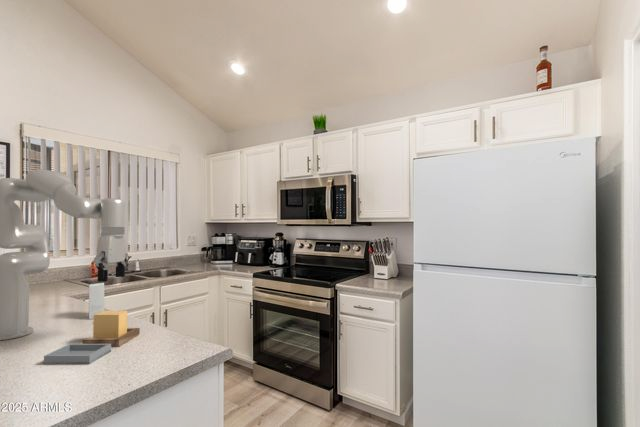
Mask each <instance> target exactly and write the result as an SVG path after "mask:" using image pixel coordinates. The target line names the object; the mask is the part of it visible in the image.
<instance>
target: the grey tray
mask: <svg viewBox="0 0 640 427" xmlns="http://www.w3.org/2000/svg"><path fill="white" fill-rule="evenodd" d="M111 351H112V347H111V344H83V343H69V344H66V345H64V346H62V347H60V348H58V349H56V350H54V351H52V352H51V351H50V352H49V353H47V354H45V355H43V365H90V364H92V363H93V362H95V361H98V360H99V359H100V358H103V357H104V356H106V355H107V354H109V353H111Z"/></svg>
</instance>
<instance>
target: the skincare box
mask: <svg viewBox="0 0 640 427" xmlns="http://www.w3.org/2000/svg"><path fill="white" fill-rule="evenodd" d="M102 311H105V282H99V283H90V284H89V285H88V319H89V320H94V315H95V314H97V313H100V312H102Z"/></svg>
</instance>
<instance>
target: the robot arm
mask: <svg viewBox="0 0 640 427" xmlns="http://www.w3.org/2000/svg"><path fill="white" fill-rule="evenodd" d="M76 193H77V187H76V186H75V184H73V180H72V179H71V178H70V176H69V175H68V174H66V173H63V172H59V171H56V170H55V171H54V170H48V169H41V168H39V169H34V170H30V171H29V172H28V173H27V174H26V175H25V179H21V178H16V177H3V178H2V177H1V178H0V249H4V250H5V249H6V250H7V249H9V250H10V249H11V250H15V249H25V250H24V251H10V252H9V251H8V252H4V253H2V254H0V341H6V340H12V339H17V338H21V337H25V336H28V335H29V334H32V333H33V332H34V327H32V326H29V323H30V320H29V316H30V314H29V313H30V285H29V283H28V281H27V280H26V278H25V276H30V275H36V274H41V273H44V272H46V271H47V269H48V268H49V266H50V262H51V259H50V257H51V256H50V249H49V248H50V247H49V240H48V234H47V231H46V230H45V229H44V227H42V226H40V225H38V224H30V223H29V224H26V223H25V220H24V213H23V211H22V209H21V208H20V206H19V205H18V204H17V203H16V202H15V201H17V202H18V201H20V202H31V203H40V202H46V201H48V200H49V201H50V200H53V204H54V205H55V208H57V210H59V211H61V212H63V213H65V214H67V215H68V216H70V217H73V218H77V219H91V220H92V219H93V220H94V219H95V220H99V222H100V223H99V224H100V226H99V227H100V230H99V236H98V240H97V244H96V252H95V253H96V254H95V255H96V256H95V257H94V258H93V263H94V265H95V267H96V270H97V282H99V283H105V282H108V280H109V279H108V278H109V277H108V276H109V270H108V267H109V265H111V264H116V266H115V277H116V278H124V277H126V266H127V261H128V257H129V254H128V253H127V252H126V242H125V239H126V238H125V229H126V228H125V226H126V225H125V222H126V221H125V220H126V203H125V200H124V199H122V198H104V199H102V198H95V197H83V196H79V195H77V194H76Z"/></svg>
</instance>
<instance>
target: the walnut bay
mask: <svg viewBox="0 0 640 427" xmlns="http://www.w3.org/2000/svg"><path fill="white" fill-rule="evenodd" d="M140 331H141V330H140V327H127V333H125V334H124V335H122V336H120V337H118V338H93V337H92V338H90V337H89V338H83V339H82V344H111V348H119V347H121V346H124V344H126V343H128V342H130V341H131V340H133V339H135V338H136V337H138V336H139V334H140ZM134 337H135V338H134Z"/></svg>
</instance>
